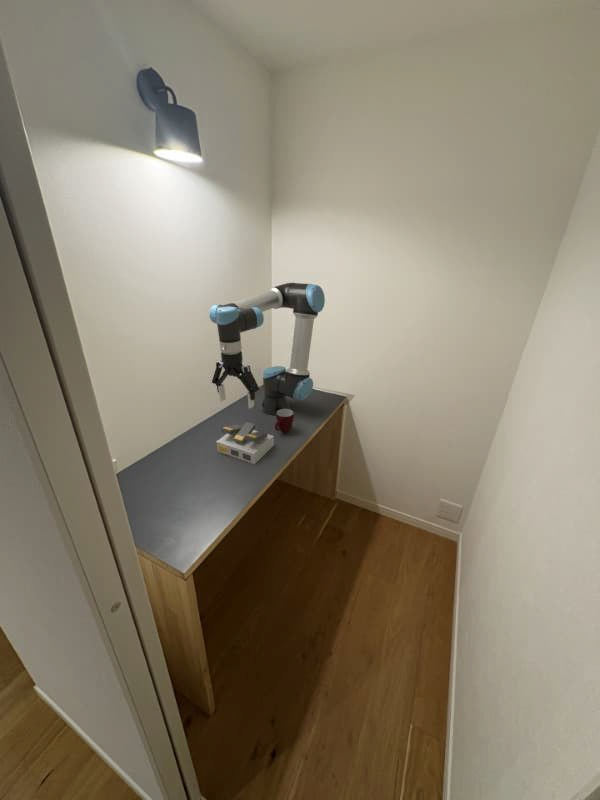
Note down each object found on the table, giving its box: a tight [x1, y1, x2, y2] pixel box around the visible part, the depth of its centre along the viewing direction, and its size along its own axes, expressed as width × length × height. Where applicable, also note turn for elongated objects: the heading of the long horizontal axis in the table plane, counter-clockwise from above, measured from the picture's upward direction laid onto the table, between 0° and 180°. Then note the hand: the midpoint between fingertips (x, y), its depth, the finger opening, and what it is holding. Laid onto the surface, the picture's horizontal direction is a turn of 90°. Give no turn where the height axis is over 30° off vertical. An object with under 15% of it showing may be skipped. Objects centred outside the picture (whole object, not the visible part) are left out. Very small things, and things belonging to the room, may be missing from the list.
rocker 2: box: [234, 421, 256, 444], centre depth 133 cm, size 10×4×2 cm, turn 153°
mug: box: [274, 408, 295, 434], centre depth 146 cm, size 10×8×10 cm
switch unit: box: [215, 429, 275, 465], centre depth 135 cm, size 15×19×7 cm
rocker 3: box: [245, 430, 269, 442], centre depth 130 cm, size 10×4×2 cm, turn 153°
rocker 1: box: [221, 424, 244, 434], centre depth 135 cm, size 10×4×2 cm, turn 153°
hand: (236, 403), depth 124 cm, fingers open, 13 cm apart
